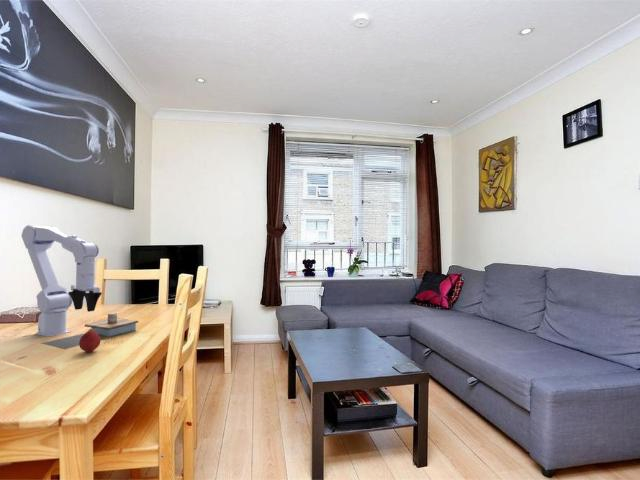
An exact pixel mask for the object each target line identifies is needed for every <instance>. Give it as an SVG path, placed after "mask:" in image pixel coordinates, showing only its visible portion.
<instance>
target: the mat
mask: <svg viewBox="0 0 640 480" xmlns="http://www.w3.org/2000/svg"><path fill="white" fill-rule="evenodd" d="M84 334H85V333H81V334H75V335H71V336H67V337H62V338H58V339H54V340H50V341H45V342H41V343H40V344H41V345H45V346H51V347H55V348H58V349H63V350H68V349H70V348H71V349H72V348H76V347H78V346H79V341H80V339H81V337H82V336H83V335H84ZM105 339H106V338H104V337H102V336H100V340H101V341H102V340H105ZM79 347H80V346H79Z"/></svg>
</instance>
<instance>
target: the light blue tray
mask: <svg viewBox="0 0 640 480" xmlns="http://www.w3.org/2000/svg"><path fill="white" fill-rule="evenodd" d="M136 327H137V323H135V324H131V325H127V326H123V327H119V328H115V329H111V330H105V329H98V328H92V327H90V329H91V328H92V329H93V331H94V332H96V333H97V334H98V335H99V336H101V337H102V336H103V337H107V338H111V337H115V336H119V335H123V334H128V333H131V332H136V329H137V328H136Z"/></svg>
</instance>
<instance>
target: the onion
mask: <svg viewBox="0 0 640 480" xmlns="http://www.w3.org/2000/svg"><path fill="white" fill-rule="evenodd" d="M83 334H84V335H83V336H82V337H81V339H80V341H79V348H80V349H81V350H82V351H84V352H85V353H93V352H94V351H95V350H96V349H97V348H99V347H100V345H101V342H102V340H100V337H101V335H98V334H97V333H96V332H94V331H93V329H92V328H91V327H90V328H89V329H88V330H87V332H85V333H83Z"/></svg>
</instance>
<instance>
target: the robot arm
mask: <svg viewBox="0 0 640 480" xmlns="http://www.w3.org/2000/svg"><path fill="white" fill-rule="evenodd" d="M21 232H22V233H21V238H22V241H23V244H24V247H25V249H27V252H28V253H27V254H28V255H29V257H30V261H31V264H32V265H33V268H34V272H35V274H36V277H37V279H38V282H39V285H40V287H41V291H39V292H38V294H37V295H36V299H37V300H36V301H37V308H38V310H39V311H40V312H41V313H40V314H38V315H39V316H38V321H37V332H35V333H34V334H35V335H39V336H40V335H41V336H45V337H54V336H59V335H62V334H67V333H72V330H69V329H67V311H69V308H70V307H71V305H72V304H73V306H74V310H76V311H77V310H78V311H79V310H83V307H84V306H83V305H84V298H85V302H86V309H87V312H88V313H89V312H95V310H96V307H97V303H98V300H99V299H100V297H101V295H102V292H101V287H100V286H97V285H95V269H96V268H95V265H96V260H95V259H96V257H97V256H98V255H99V250H100V249H99V245H97V244H96V243H95V242H90V243H88V242H87V241H86V240H84V239H81V238H79V237H78V235H75V234H71V235H66V234H65V233H63V232H61V231H60V230H59V228H57V227H55V226H52V225H51V226H41V225H30V224H28V225H25V226H24V228H23V229H22V231H21ZM54 242H56V243H59V244H61V247H62V248H63V249H65V250H66V251H68V252H70V253H72V255H73V257H74V263H76V265H75V267H76V271H75V273H76V275H75V284H71V285H70V291H68V289H67V288H66V287H63V286H61V285H60V284H59V281H58V280H57V277H56V273H55V271H54V269H53V266H52V263H51V261H50V258H49V256H48V253H47V250H49V249H50V248H51V247H52V245H53V244H54Z"/></svg>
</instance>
